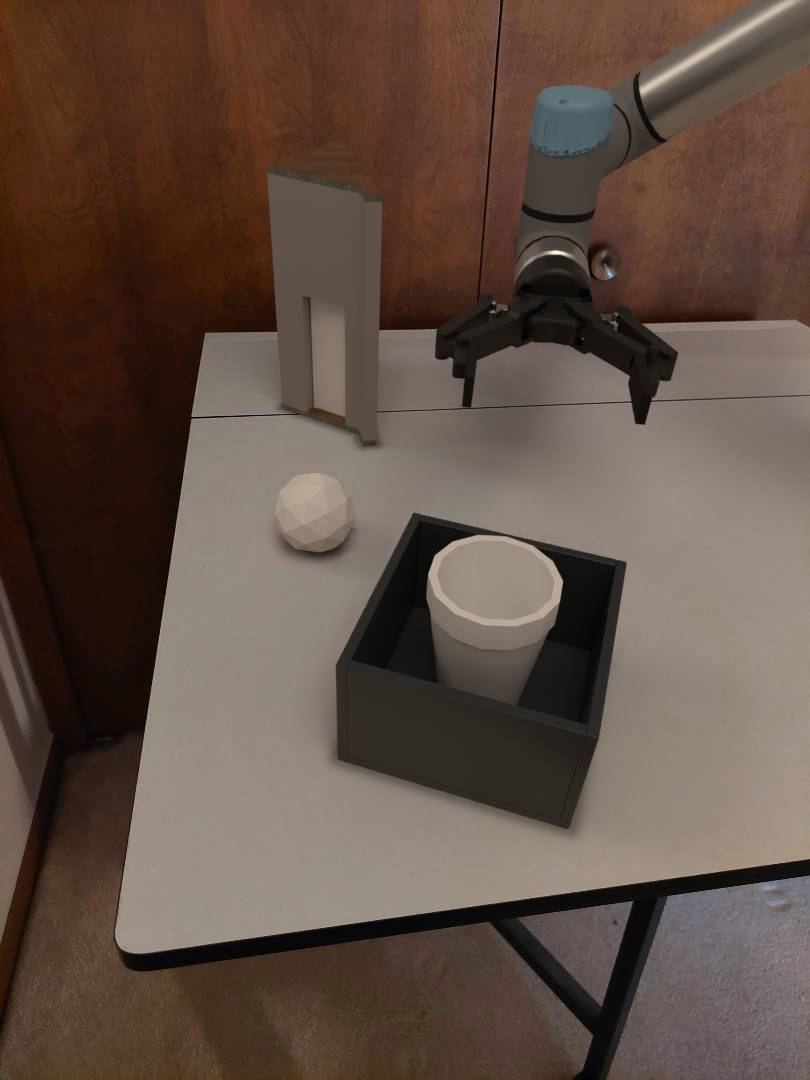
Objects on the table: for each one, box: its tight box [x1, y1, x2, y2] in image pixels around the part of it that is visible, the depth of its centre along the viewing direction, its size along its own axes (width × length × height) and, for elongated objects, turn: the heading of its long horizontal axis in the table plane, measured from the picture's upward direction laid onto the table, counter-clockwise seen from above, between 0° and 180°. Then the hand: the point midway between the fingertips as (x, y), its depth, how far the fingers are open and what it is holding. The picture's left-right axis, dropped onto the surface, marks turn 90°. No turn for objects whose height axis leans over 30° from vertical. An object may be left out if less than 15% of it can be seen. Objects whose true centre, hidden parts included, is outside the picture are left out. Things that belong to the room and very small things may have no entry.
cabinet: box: [266, 135, 383, 447], centre depth 91 cm, size 21×10×28 cm, turn 14°
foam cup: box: [426, 535, 563, 706], centre depth 60 cm, size 10×9×13 cm
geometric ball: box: [273, 472, 356, 553], centre depth 77 cm, size 8×8×8 cm
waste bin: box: [335, 512, 628, 830], centre depth 62 cm, size 18×18×11 cm
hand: (555, 401), depth 62 cm, fingers open, 13 cm apart
